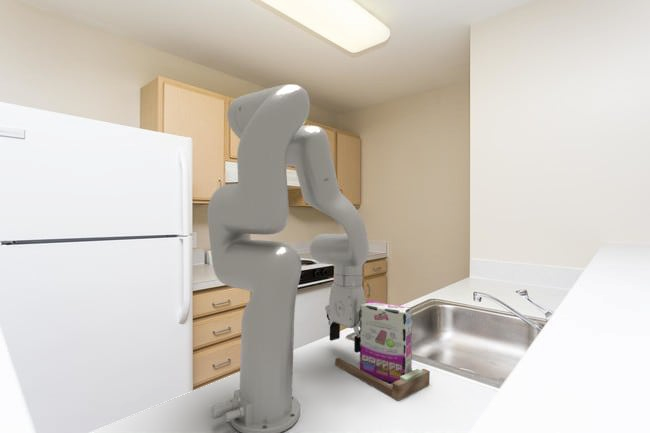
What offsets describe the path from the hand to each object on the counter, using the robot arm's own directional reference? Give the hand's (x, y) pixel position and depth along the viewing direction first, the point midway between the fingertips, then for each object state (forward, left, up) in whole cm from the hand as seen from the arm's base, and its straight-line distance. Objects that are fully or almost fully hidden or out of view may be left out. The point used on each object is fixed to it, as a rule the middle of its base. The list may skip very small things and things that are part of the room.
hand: (346, 345), depth 85 cm
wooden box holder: (0, -12, -3) cm, 13 cm away
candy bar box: (0, -13, -3) cm, 14 cm away
